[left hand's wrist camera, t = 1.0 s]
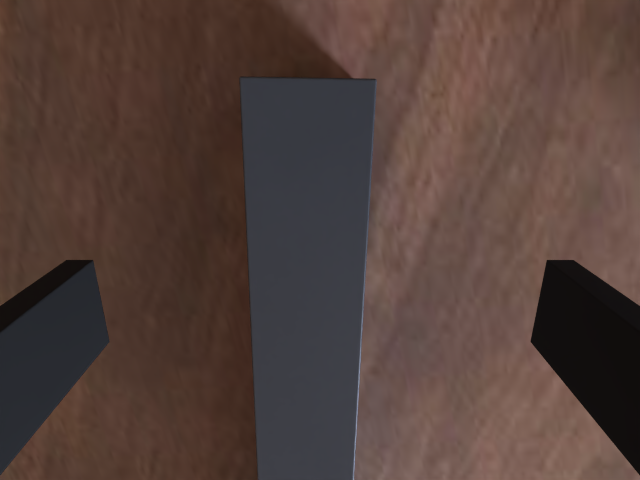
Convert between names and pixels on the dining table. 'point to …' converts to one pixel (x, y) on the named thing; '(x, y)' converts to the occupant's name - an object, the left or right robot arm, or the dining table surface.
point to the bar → (306, 266)
